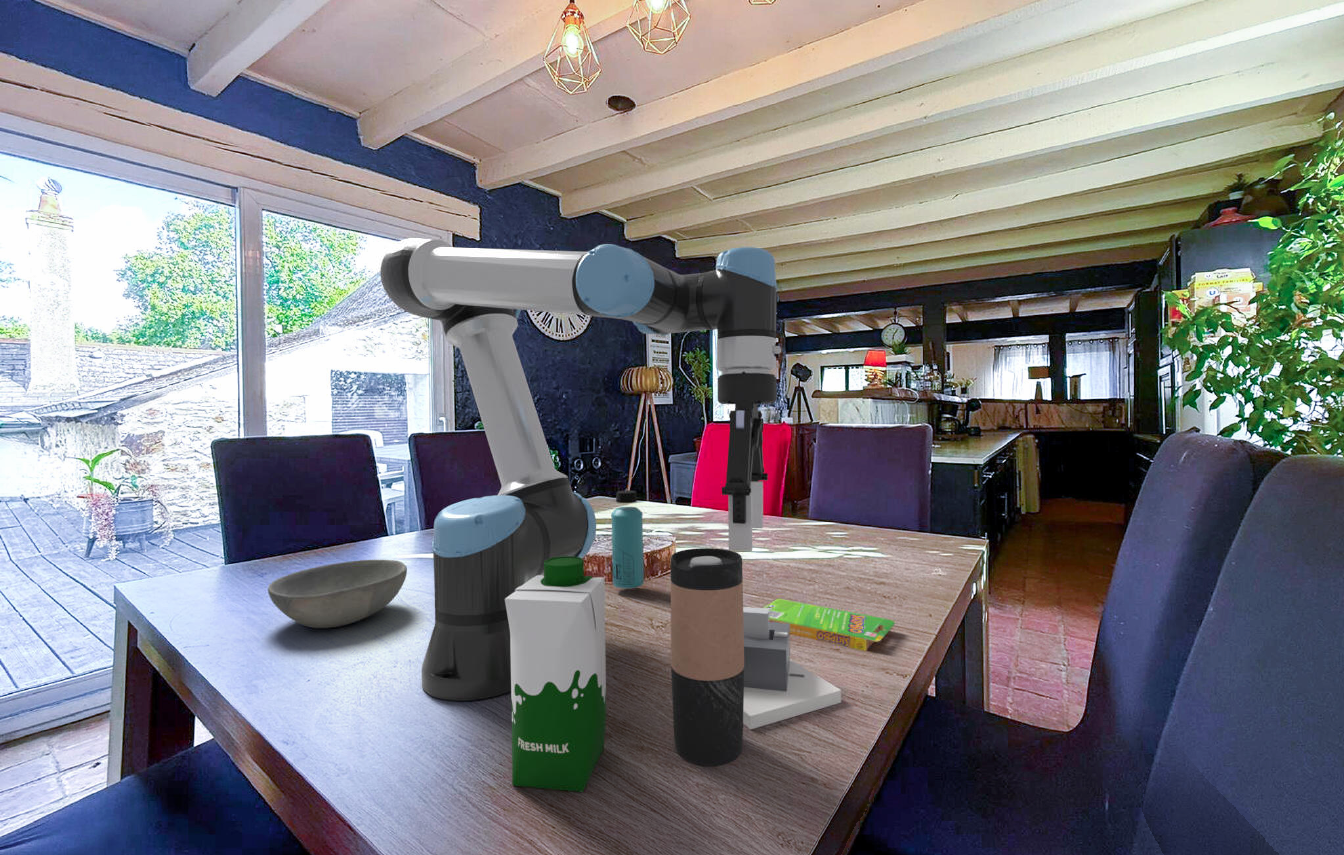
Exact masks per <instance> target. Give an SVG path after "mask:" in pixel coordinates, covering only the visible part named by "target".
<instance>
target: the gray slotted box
mask: <svg viewBox="0 0 1344 855" xmlns="http://www.w3.org/2000/svg"><path fill="white" fill-rule="evenodd" d="M790 659H791V634H790V623H777V622H769V640H768V639H756V638H744V687H747V688H757V689H767V690H776V691H786V692H787V684H788V675H789V665H790Z"/></svg>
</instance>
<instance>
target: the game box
mask: <svg viewBox="0 0 1344 855" xmlns="http://www.w3.org/2000/svg"><path fill="white" fill-rule="evenodd" d="M763 608H768V609H769V622H777V623H790V635H794V636H797V637H802V638H806V639H811V640H815V641H821V642H824V643H828V644H833V645H837V646H841V647H846V648H849V649H850V648H851V649H855V650H860V651H865V652H867V651H868V649H869V648H870V647H871V646H872V644H874V643H875V642H876V643H878V642H881V640H883V639H884V637H885V636H886V635H887V634H888V633H889V632H890V630H891V629H892V628H893V627H894V626H895V625H896V622H895V621H894V620H892V619H888V618H885V617H878V616H873V615H868V614H861V613H856V612H851V611H847V610H840V609H836V608H830V607H825V606H819V605H814V604H810V603H809V604H807V603H802V602H797V601H792V600H788V599H782V598H777V599H776V600H774V601H772V602H771V603H769V604H767V605H765V606H764V607H763Z"/></svg>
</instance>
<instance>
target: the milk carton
mask: <svg viewBox="0 0 1344 855" xmlns="http://www.w3.org/2000/svg"><path fill="white" fill-rule="evenodd" d="M584 562H585V561H584V559H583V558H579V557H573V556H563V557H555V558H550V559H548V560H546V561H545V562H544V576H542V575H537V576H535V577H534V578H532V579H531V580H529V581H528V582H526V583H525V584H523V585H522V586H519V587H518V588H516V589H515V592H514V593H512V594H511V595H509V596H508V597H507V598H505V604H506V609H507V615H508V621H509V628H510V648H511V691H510V693H511V694H510V695H511V753H512V755H511V756H512V758H511V760H512V761H511V765H512V766H511V768H512V769H511V771H512V772H511V775H512V777H511V778H512V780H511V781H512V782H511V783H512V784H511V785H512V786H515V787H523V788H524V787H527V788H536V789H545V790H547V789H548V790H558V791H568V792H580V793H583V792H584V790H585V788H586V786H587V785H588V782H589V780H590V778H591V776H592V774H593V772H594V769H595V767H596V765H597V763H598V761H599V760H600V759H599V758H600V756H602V752H603V750H604V749H605V736H606V734H605V733H606V721H607V720H606V717H607V682H606V681H607V680H606V677H607V673H606V670H607V668H606V667H607V665H606V658H607V657H606V617H605V616H606V614H605V612H606V602H605V601H606V600H605V599H606V598H605V583H606V582H605V581H606V579H605V577H604V576H603V577H593V575H590V576H589V575H585V566H584V565H585V564H584Z"/></svg>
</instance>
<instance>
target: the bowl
mask: <svg viewBox="0 0 1344 855" xmlns="http://www.w3.org/2000/svg"><path fill="white" fill-rule="evenodd" d="M407 574H408V568H407V565H405V563H404V562H402V561H399V560H395V559H393V560H392V559H363V560H362V559H361V560H352V561H351V560H350V561H344V562H337V563H336V562H335V563H332V564H326V565H320V566H316V567H312V568H307V569H304V570H299V571H297V572H293V573H290V574H287V575H284V576H282V577H279V578H277V579H274V581H272V582H271V583H270V584H269V585H268V587H267V593H268V595H269V598H270V600H271V602H272V603H273V604H274V605H275V607H276V608H277V609H278V610H279V611H280V612H281V613H282V614H284V615H285V616H286V617H288V618H289V619H291V620H292V621H293V622H296V623H297V624H300V625H302V626H305V627H309V628H315V629H331V627H332V628H337V627H338V628H339V627H342V626H346V625H349V624H352V623H355V622H359V621H361V620H364V619H366V618H368V617H370V616H372V615H374V614H375V613H377V612H378V611H380V610H382V609H384V608H385V607H386V606H387V605H388V604H390V603H391V602H392V601H393V600H394V599H395V597H396V596H397V595H398V594H399V592H400V591H401V589H402V587H403V585H404V583H405V580H406V578H407Z"/></svg>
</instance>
